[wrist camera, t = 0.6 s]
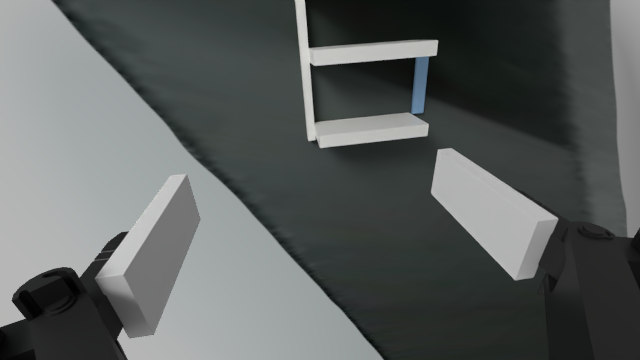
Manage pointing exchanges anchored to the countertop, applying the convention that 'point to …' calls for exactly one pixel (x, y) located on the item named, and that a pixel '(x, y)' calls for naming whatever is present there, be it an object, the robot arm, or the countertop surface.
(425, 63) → the blue bezel
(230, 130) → the countertop surface
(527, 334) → the countertop surface
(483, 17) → the countertop surface
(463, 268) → the countertop surface
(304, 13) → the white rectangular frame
